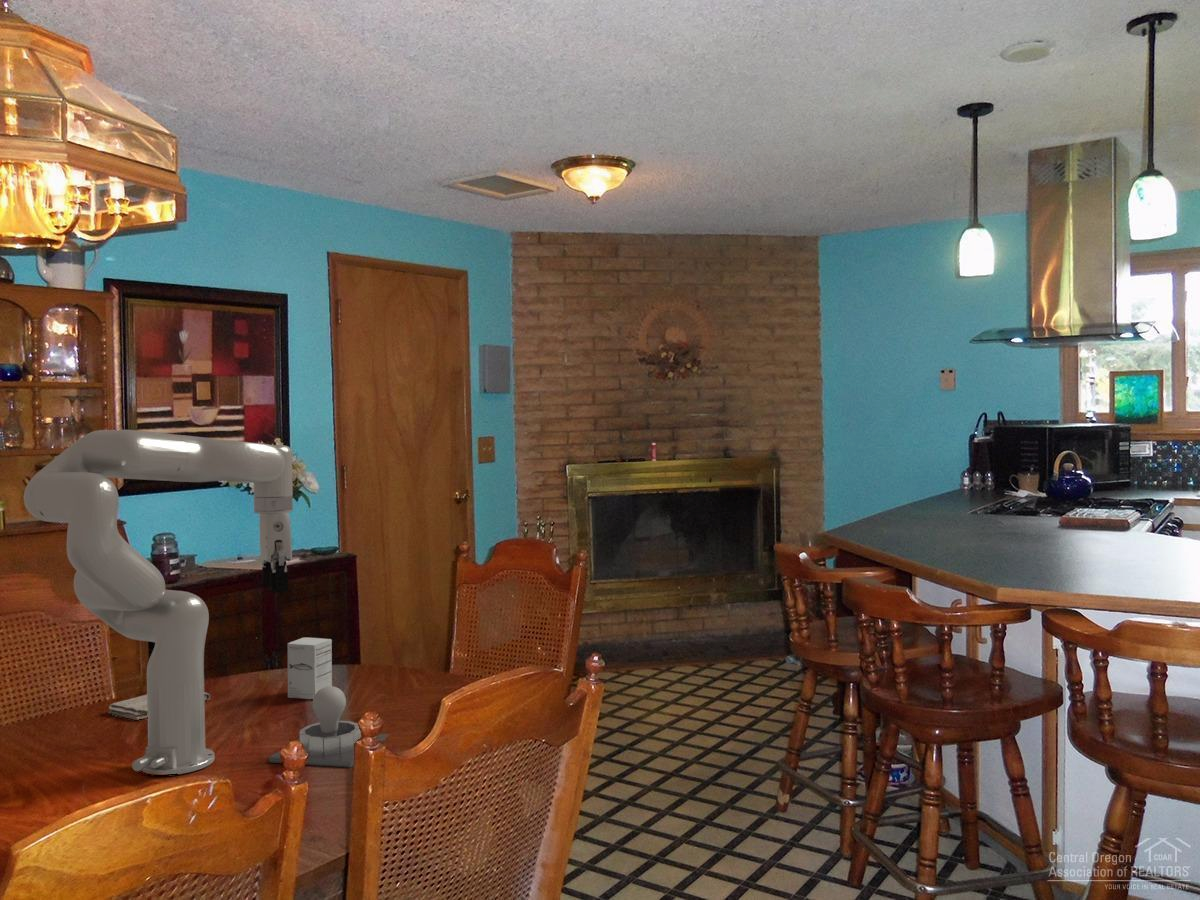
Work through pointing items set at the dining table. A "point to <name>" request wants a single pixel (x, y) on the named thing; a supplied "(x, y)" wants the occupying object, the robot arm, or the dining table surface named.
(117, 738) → the dining table surface
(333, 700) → the lightbulb
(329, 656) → the supplement box
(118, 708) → the washcloth
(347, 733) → the duct collar
